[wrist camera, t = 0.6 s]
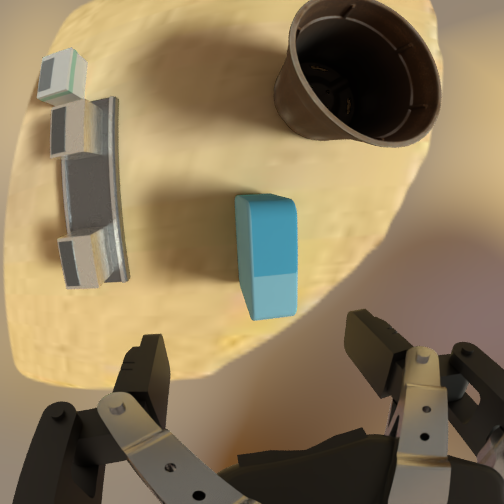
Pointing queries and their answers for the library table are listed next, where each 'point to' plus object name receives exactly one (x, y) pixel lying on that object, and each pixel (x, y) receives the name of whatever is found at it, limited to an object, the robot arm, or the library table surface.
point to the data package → (267, 254)
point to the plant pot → (357, 75)
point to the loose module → (62, 77)
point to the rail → (90, 192)
